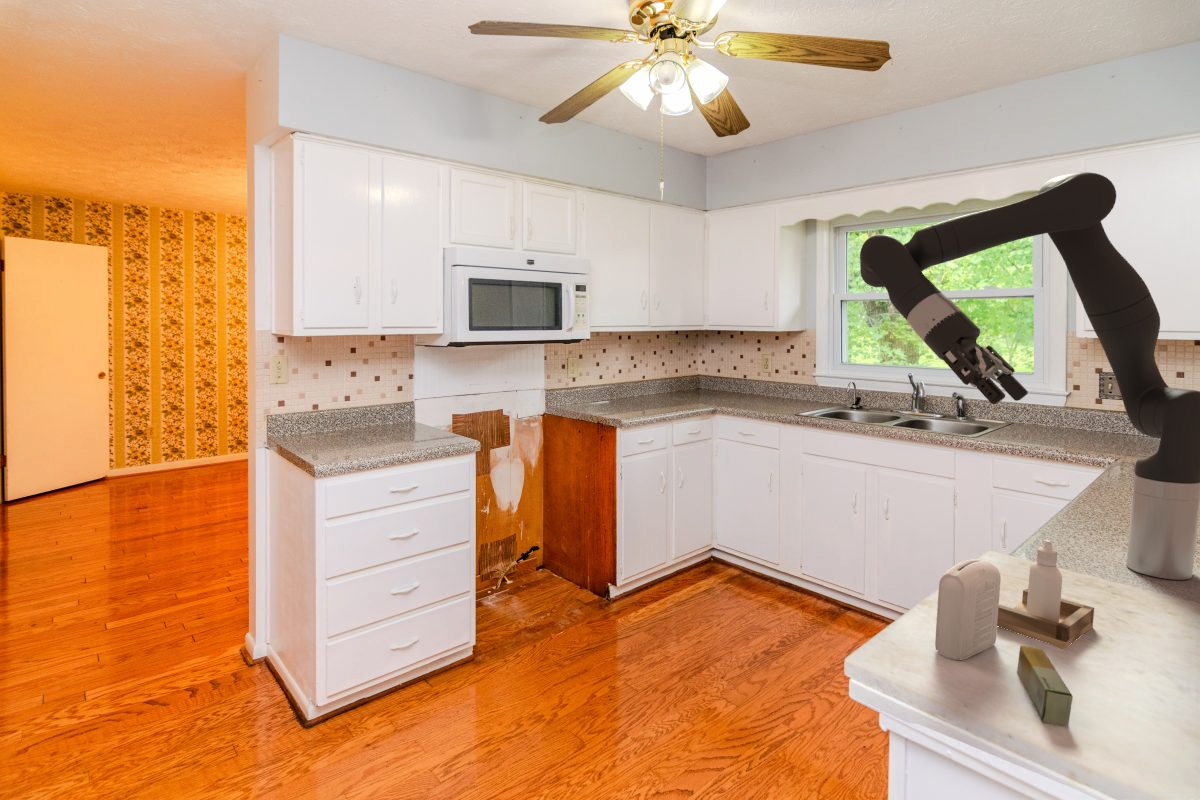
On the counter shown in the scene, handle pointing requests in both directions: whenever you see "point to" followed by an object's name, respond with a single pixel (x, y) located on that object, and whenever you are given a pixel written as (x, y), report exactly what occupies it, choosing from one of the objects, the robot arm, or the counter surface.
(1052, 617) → the eye dropper bottle
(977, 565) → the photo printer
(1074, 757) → the counter surface
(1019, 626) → the oak tray
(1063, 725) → the medication box
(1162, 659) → the counter surface
